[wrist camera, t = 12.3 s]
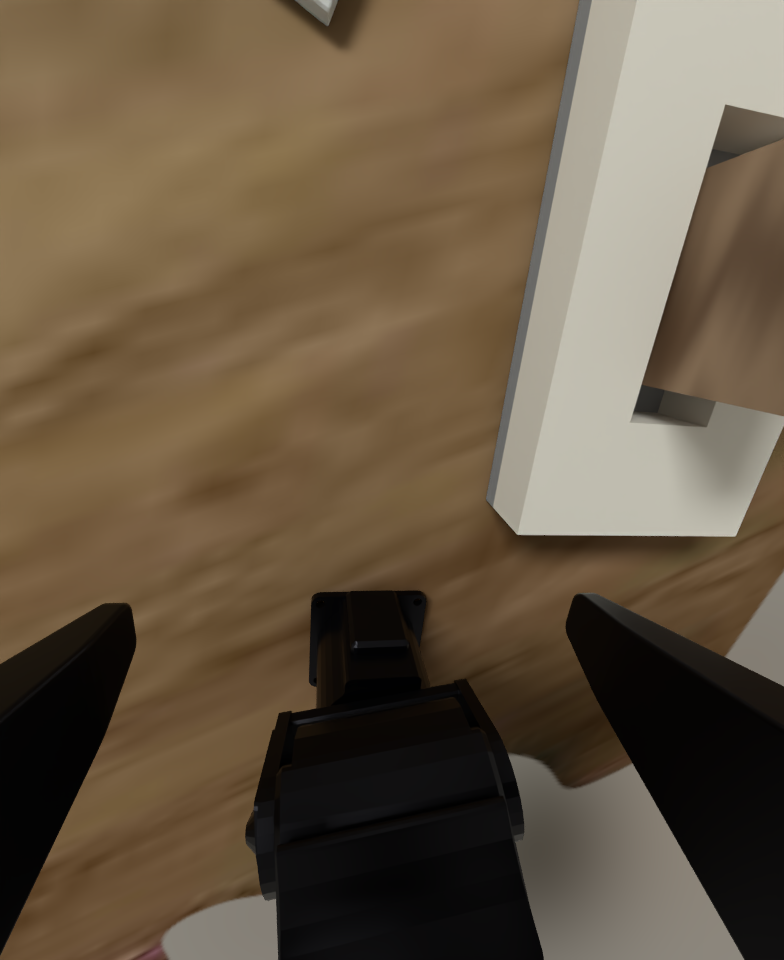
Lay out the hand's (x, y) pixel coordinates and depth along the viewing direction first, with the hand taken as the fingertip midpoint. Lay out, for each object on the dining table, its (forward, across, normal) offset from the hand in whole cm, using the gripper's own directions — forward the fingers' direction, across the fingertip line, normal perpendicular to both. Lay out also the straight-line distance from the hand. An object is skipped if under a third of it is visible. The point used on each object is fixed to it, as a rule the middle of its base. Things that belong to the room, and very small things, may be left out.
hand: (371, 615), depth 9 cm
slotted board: (+13, -14, -8) cm, 21 cm away
